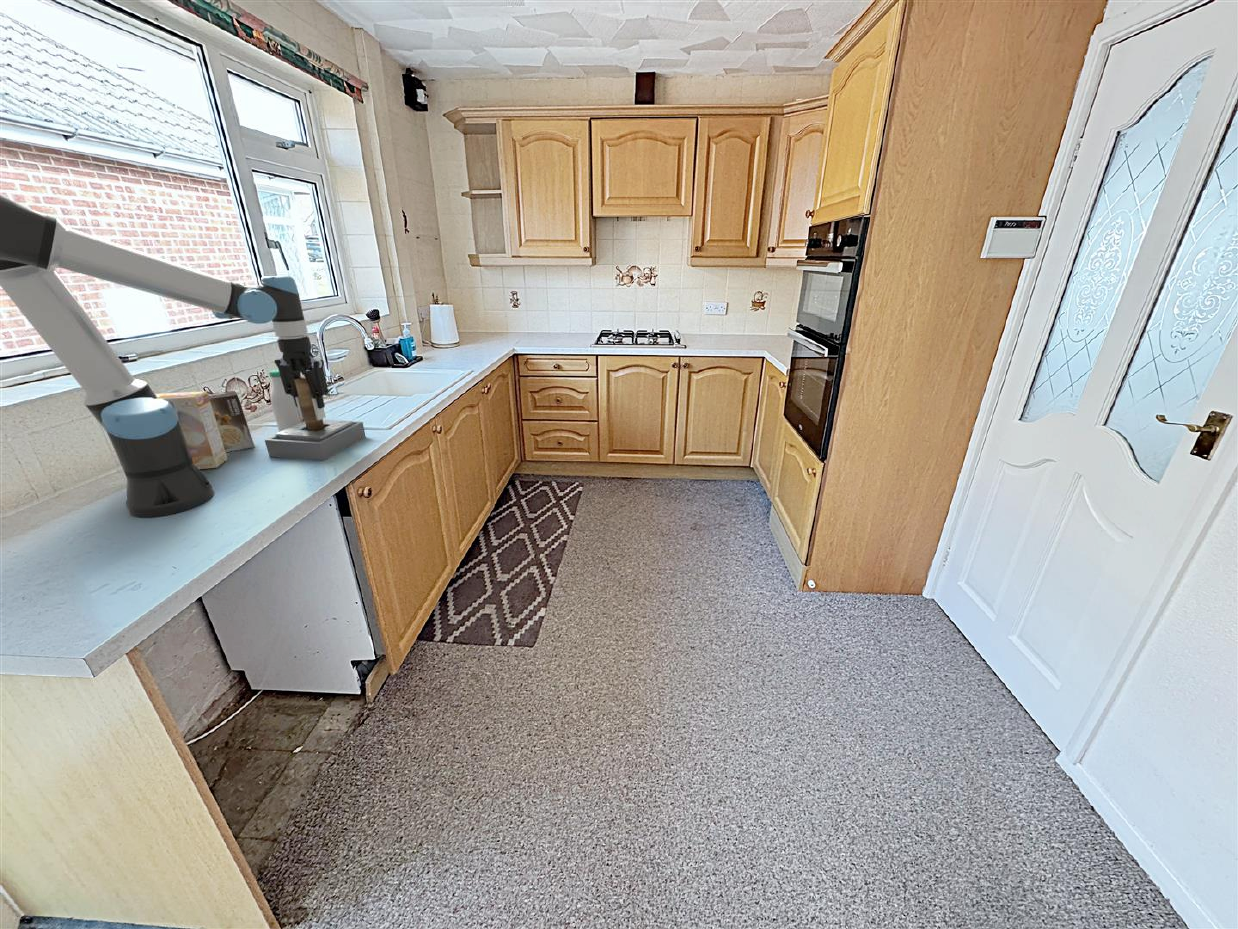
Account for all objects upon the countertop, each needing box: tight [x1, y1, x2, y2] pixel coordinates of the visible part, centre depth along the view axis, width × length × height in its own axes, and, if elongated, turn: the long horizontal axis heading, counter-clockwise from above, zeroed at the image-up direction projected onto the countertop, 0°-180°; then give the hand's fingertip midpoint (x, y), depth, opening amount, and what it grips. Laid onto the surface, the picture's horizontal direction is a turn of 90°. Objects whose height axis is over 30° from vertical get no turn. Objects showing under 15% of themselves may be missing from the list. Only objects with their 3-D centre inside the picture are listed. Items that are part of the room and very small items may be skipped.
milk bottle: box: [268, 368, 305, 432], centre depth 155 cm, size 8×8×20 cm
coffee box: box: [208, 390, 255, 453], centre depth 144 cm, size 9×6×16 cm
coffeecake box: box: [154, 390, 228, 470], centre depth 131 cm, size 15×7×20 cm, turn 105°
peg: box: [294, 376, 325, 431], centre depth 143 cm, size 4×4×15 cm
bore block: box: [274, 418, 353, 442], centre depth 147 cm, size 14×14×5 cm
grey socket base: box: [264, 420, 366, 461], centre depth 148 cm, size 19×17×5 cm
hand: (313, 418), depth 145 cm, fingers closed on peg, 4 cm apart
